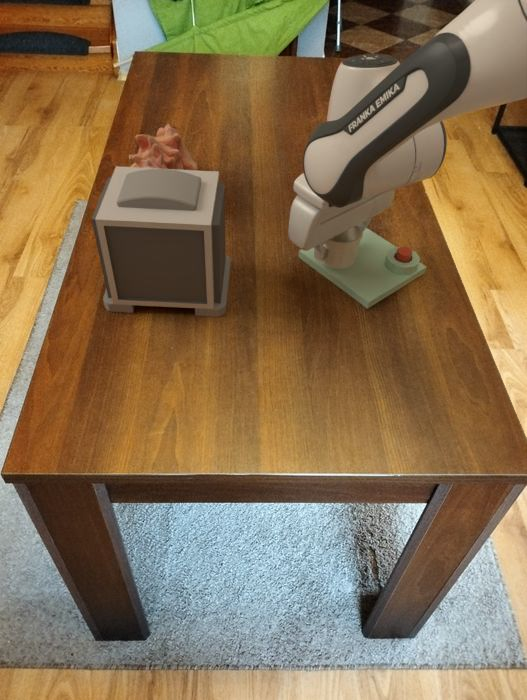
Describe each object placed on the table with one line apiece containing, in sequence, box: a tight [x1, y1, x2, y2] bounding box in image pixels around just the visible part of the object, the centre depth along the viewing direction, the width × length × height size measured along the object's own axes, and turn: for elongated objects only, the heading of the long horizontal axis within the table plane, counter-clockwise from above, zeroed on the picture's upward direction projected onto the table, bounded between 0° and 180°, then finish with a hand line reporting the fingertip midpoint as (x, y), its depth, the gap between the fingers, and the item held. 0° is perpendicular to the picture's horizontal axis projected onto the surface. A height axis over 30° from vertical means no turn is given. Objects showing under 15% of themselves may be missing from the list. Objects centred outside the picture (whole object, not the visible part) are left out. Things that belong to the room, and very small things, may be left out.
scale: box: [297, 227, 428, 309], centre depth 94 cm, size 16×14×3 cm
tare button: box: [395, 246, 413, 263], centre depth 92 cm, size 2×2×2 cm
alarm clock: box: [91, 165, 232, 318], centre depth 84 cm, size 18×13×18 cm
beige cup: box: [320, 225, 361, 269], centre depth 93 cm, size 7×7×5 cm
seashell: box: [128, 123, 199, 171], centre depth 103 cm, size 22×13×15 cm
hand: (337, 248), depth 93 cm, fingers closed on beige cup, 6 cm apart
